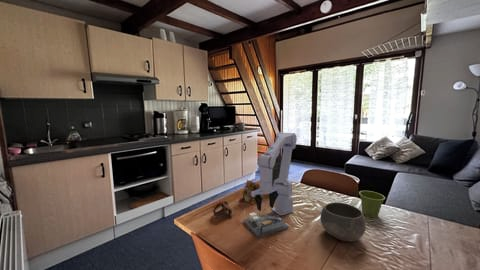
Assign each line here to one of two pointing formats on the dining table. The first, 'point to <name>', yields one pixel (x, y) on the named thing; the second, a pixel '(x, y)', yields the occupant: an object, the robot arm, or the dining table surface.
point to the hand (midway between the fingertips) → (265, 208)
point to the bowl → (343, 221)
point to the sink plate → (265, 226)
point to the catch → (253, 217)
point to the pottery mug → (224, 209)
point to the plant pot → (371, 203)
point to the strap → (269, 217)
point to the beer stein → (276, 169)
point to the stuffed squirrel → (249, 192)
